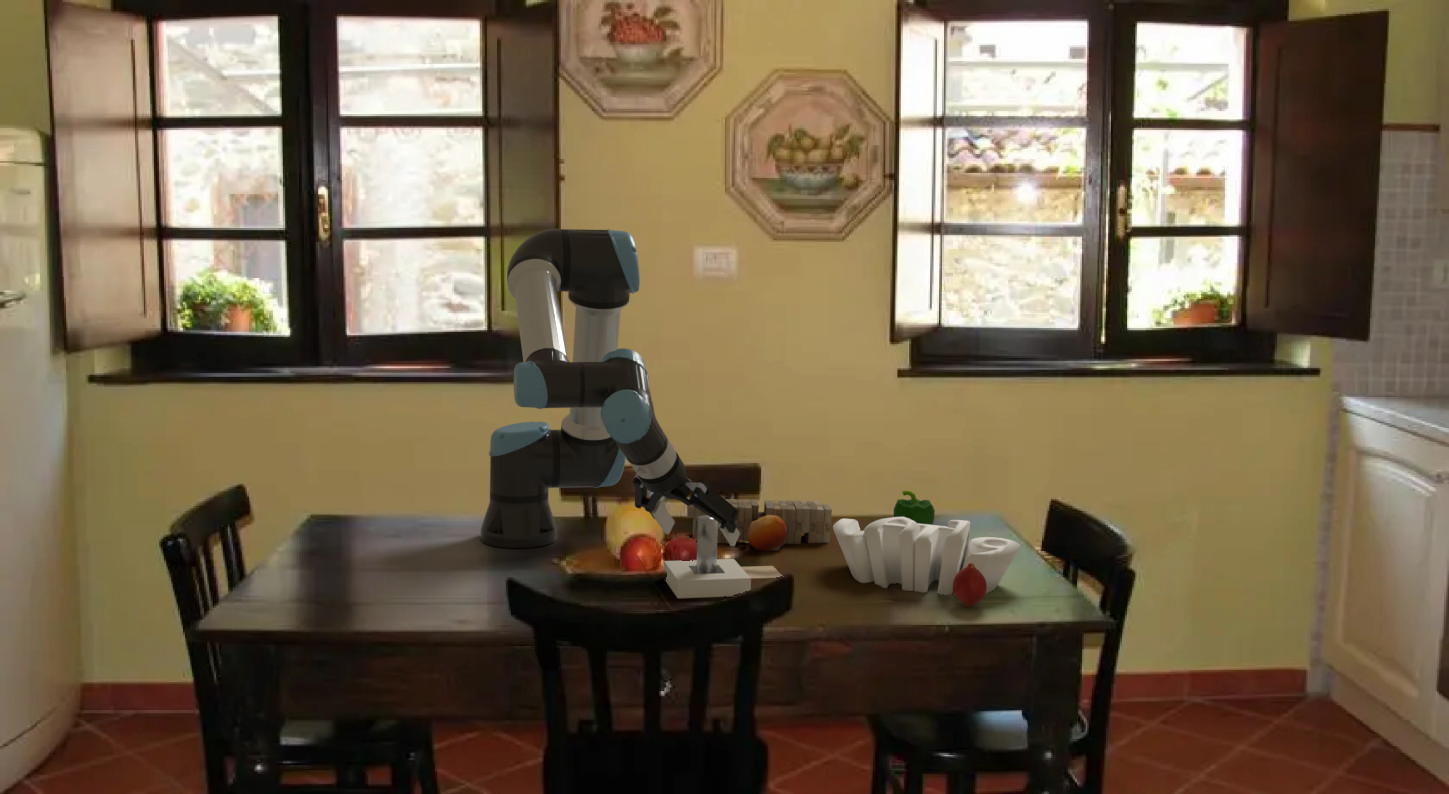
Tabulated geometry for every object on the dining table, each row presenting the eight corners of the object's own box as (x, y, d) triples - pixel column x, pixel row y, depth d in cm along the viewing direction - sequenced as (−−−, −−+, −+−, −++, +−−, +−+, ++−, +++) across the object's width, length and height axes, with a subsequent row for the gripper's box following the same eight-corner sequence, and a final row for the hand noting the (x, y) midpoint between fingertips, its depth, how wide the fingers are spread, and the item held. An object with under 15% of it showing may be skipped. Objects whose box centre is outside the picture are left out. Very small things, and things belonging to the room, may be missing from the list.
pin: (694, 586, 249) (695, 515, 247) (713, 585, 250) (715, 515, 248) (698, 591, 246) (700, 520, 244) (717, 591, 246) (720, 519, 245)
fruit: (792, 549, 272) (773, 513, 272) (758, 566, 274) (738, 531, 273) (798, 539, 280) (779, 504, 279) (765, 556, 281) (746, 522, 281)
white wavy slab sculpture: (816, 580, 256) (818, 524, 254) (841, 559, 271) (843, 506, 270) (1006, 604, 244) (1010, 546, 242) (1021, 581, 259) (1025, 526, 257)
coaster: (731, 569, 261) (731, 567, 261) (772, 567, 263) (772, 565, 263) (741, 580, 253) (741, 578, 253) (783, 579, 255) (783, 577, 255)
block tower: (824, 540, 290) (684, 534, 288) (827, 501, 288) (687, 494, 287) (829, 550, 282) (685, 543, 280) (832, 509, 281) (688, 502, 279)
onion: (948, 602, 244) (950, 557, 243) (980, 602, 244) (982, 558, 243) (956, 612, 238) (958, 566, 237) (989, 612, 239) (991, 566, 238)
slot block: (663, 579, 253) (664, 561, 252) (733, 577, 256) (733, 558, 255) (677, 600, 240) (678, 580, 240) (750, 597, 243) (750, 578, 243)
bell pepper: (939, 537, 291) (942, 490, 289) (923, 545, 284) (925, 497, 282) (903, 531, 295) (905, 485, 294) (886, 538, 288) (888, 491, 287)
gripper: (586, 471, 234) (635, 540, 249) (711, 491, 222) (755, 563, 236) (605, 436, 238) (652, 506, 253) (729, 454, 225) (771, 526, 240)
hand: (702, 533), depth 245 cm, fingers open, 13 cm apart
